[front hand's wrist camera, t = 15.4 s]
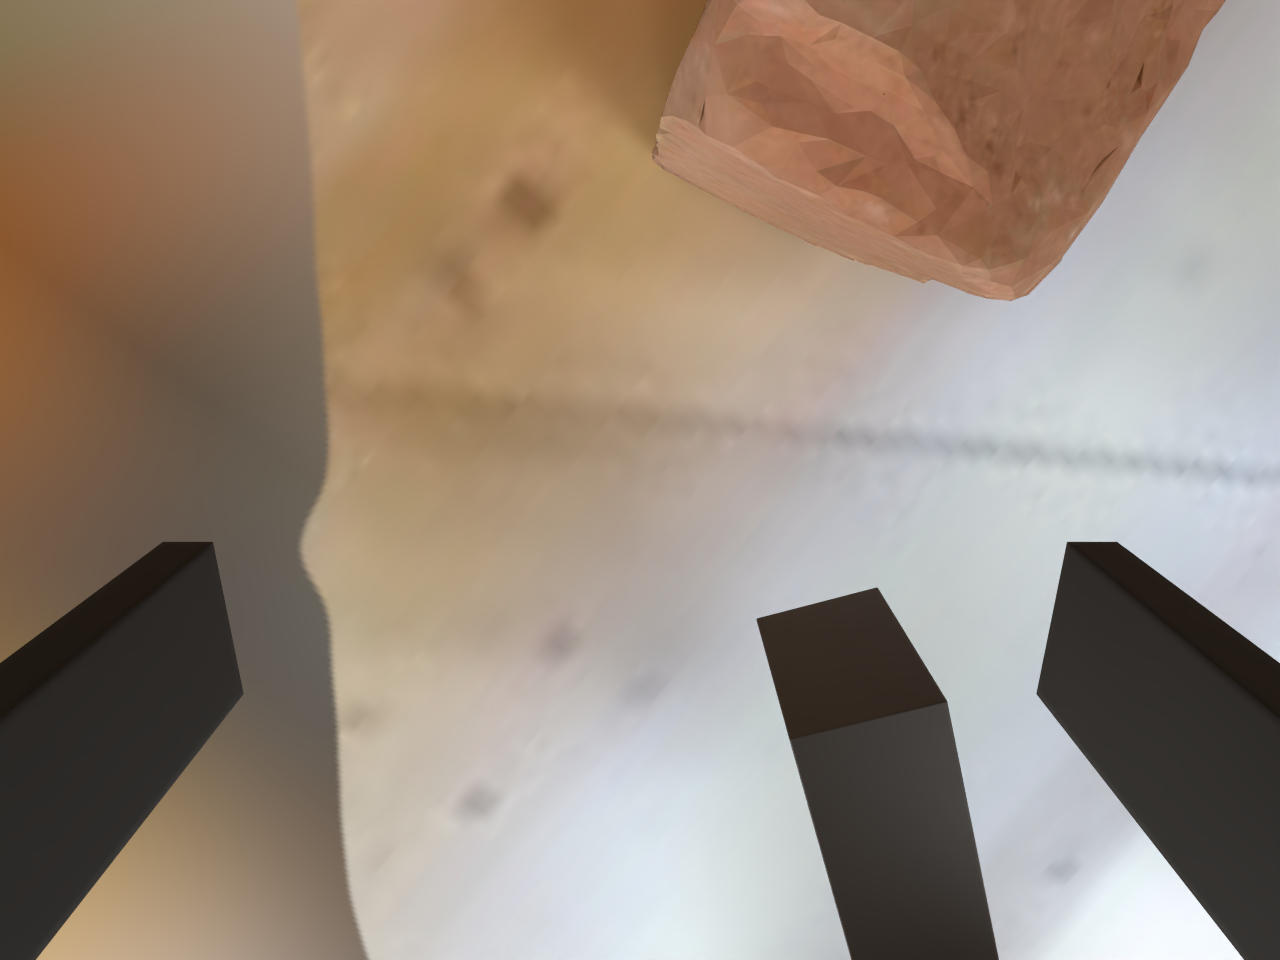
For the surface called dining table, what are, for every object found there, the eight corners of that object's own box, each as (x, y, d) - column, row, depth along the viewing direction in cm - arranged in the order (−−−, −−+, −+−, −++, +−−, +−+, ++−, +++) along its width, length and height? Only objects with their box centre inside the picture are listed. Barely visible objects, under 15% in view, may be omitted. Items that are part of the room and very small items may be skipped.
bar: (756, 618, 38) (789, 739, 30) (877, 586, 38) (947, 700, 29) (866, 1012, 47) (917, 1195, 38) (967, 991, 46) (1041, 1172, 38)
